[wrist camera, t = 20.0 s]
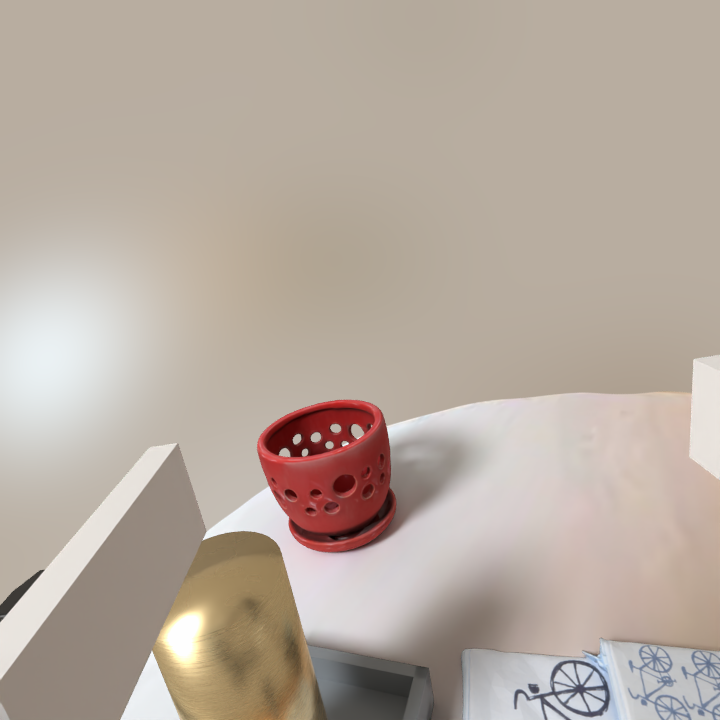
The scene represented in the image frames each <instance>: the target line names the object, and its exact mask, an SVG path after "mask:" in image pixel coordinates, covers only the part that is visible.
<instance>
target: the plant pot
mask: <svg viewBox="0 0 720 720" xmlns="http://www.w3.org/2000/svg"><path fill="white" fill-rule="evenodd" d="M332 424H339V425H340V426H341V431H340V432H339V433H334V432H332V431H331V429H330V426H331V425H332ZM353 424H358V425H359V426H360V427H361V428H362V430H363V431H364V435H363V436H362V437H360V438H359V439H356V438H355V437H354V436H353V435H352V433H351V426H352V425H353ZM371 425H373V426H372V427H371ZM315 432H319V433H320V434H321V440H320V441H318V442H316V443H315V442H312V441H311V435H312V434H313V433H315ZM296 434H301V441H300V443H298V444H296V445H295V444H294V443H293V437H294V436H295V435H296ZM328 441H331V442H333V444H334V447H333V448H332V449H327V448H326V446H325V444H326V442H328ZM343 441H347V442H348V443H349V444H348V445H346V446H344V447H343V446H342V444H341V443H342V442H343ZM283 448H287V449H288V450H289V451H290V457H283V456H279V452H280V450H281V449H283ZM303 449H308V455H307V456H305V457H303V456H302V450H303ZM257 451H258V455H259V459H260V462H261V465H262V468H263V471H264V473H265V476H266V478H267V481H268V484H269V486H270V488H271V491H272V493H273V494H274V496H275V498H276V500H277V502H278V503H279V505H280V506H281V508H282V509H283V511H284V512H285V513H286V514H287V515H288V516H289V528H290V531H291V533H292V535H293V536H294V538H295V539H296V540H297V541H298V542H299V543H301V544H302V545H304V546H306V547H307V548H310V549H313V550H316V551H322V552H339V551H346V550H350V549H353V548H357V547H359V546H362V545H364V544H366V543H368V542H370V541H371V540H373V539H374V538H376V537H377V536H378V535H380V534H381V533H382V532H383V531H384V530H385V529H386V527H387V526H388V525H389V523H390V522H391V520H392V518H393V516H394V514H395V510H396V498H395V495H394V493H393V491H392V490H391V489H390V488H389V484H390V477H391V463H390V446H389V438H388V432H387V427H386V423H385V420H384V417H383V414H382V412H381V410H380V409H379V408H378V407H377V406H375V405H373V404H371V403H368V402H364V401H359V400H335V401H329V402H323V403H318V404H315V405H311V406H308V407H305V408H302V409H299V410H297V411H294V412H292V413H290V414H287V415H285V416H284V417H282V418H280V419H279V420H277V421H276V422H274V423H273V424H271V425H270V426H269V427H268V428H267V429H266V430H265V431H264V432H263V433H262V434H261V436H260V438H259V440H258V444H257Z"/></svg>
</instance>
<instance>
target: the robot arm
mask: <svg viewBox="0 0 720 720" xmlns="http://www.w3.org/2000/svg"><path fill="white" fill-rule="evenodd" d="M689 457H690V458H691V459H693V460H694V461H695V462H697V463H698V464H699V465H700V466H702V467H703V468H704V469H706V470H707V471H708V472H710V473H711V474H712V475H714V476H715V477H716V478H718V479H719V480H720V355H716V356H710V357H703V358H697V359H694V361H693V384H692V406H691V429H690V452H689ZM205 533H206V528H205V525H204V522H203V519H202V516H201V513H200V510H199V507H198V503H197V500H196V497H195V494H194V491H193V488H192V485H191V482H190V479H189V476H188V472H187V470H186V466H185V463H184V460H183V457H182V454H181V451H180V448H179V445H178V443H175V444H168V445H162V446H156V447H150V448H149V449H148V450H147V451H146V452H145V453H144V454H143V456H142V457H141V458H140V459H139V460H138V461H137V463H136V464H135V465H134V466H133V467H132V468H131V470H130V471H129V472H128V473H127V475H126V476H125V477H124V478H123V479H122V480H121V481H120V483H119V484H118V485H117V486H116V487H115V488H114V490H113V491H112V492H111V493H110V494H109V495H108V497H107V498H106V499H105V500H104V501H103V503H102V504H101V505H100V506H99V507H98V508H97V510H96V511H95V512H94V513H93V514H92V515H91V517H90V518H89V519H88V520H87V521H86V522H85V524H84V525H83V526H82V527H81V528H80V529H79V531H78V532H77V533H76V534H75V535H74V537H73V538H72V539H71V540H70V541H69V542H68V544H67V545H66V546H65V547H64V548H63V550H62V551H61V552H60V553H59V554H58V555H57V557H56V558H55V559H54V560H53V561H52V562H51V564H50V565H49V566H48V567H47V568H46V569H45V570H40V571H39V572H37V573H36V574H35V575H34V576H32V577H31V578H30V579H28V580H27V581H26V582H25V583H24V584H22V585H21V586H19V587H18V588H17V589H15V590H14V591H13V592H12V593H11V594H10V595H9V596H8V597H7V599H6V600H5V601H4V602H3V603H2V604H1V605H0V720H120V719H121V717H122V714H123V712H124V710H125V708H126V706H127V703H128V701H129V699H130V697H131V695H132V693H133V690H134V688H135V686H136V684H137V682H138V679H139V677H140V675H141V673H142V671H143V669H144V666H145V664H146V662H147V660H148V658H149V655H150V653H151V651H152V649H153V647H154V645H155V642H156V640H157V638H158V636H159V634H160V631H161V629H162V627H163V625H164V623H165V621H166V618H167V616H168V614H169V612H170V610H171V607H172V605H173V603H174V601H175V599H176V597H177V594H178V592H179V590H180V588H181V586H182V584H183V581H184V579H185V577H186V575H187V573H188V570H189V568H190V566H191V564H192V562H193V560H194V557H195V555H196V553H197V551H198V549H199V546H200V544H201V542H202V540H203V538H204V536H205Z"/></svg>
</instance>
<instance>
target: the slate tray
mask: <svg viewBox="0 0 720 720" xmlns="http://www.w3.org/2000/svg"><path fill="white" fill-rule="evenodd" d="M307 647H308V650H309V654H310V657H311V661H312V664H313V668H314V672H315V675H316V679H317V682H318V686H319V690H320V693H321V697H322V700H323V704H324V707H325V711H326V715H327V718H328V720H431V715H432V710H433V705H434V698H433V692H432V686H431V680H430V674H429V668H426V667H421V666H416V665H410V664H405V663H400V662H395V661H389V660H384V659H379V658H374V657H368V656H363V655H358V654H353V653H347V652H342V651H337V650H331V649H326V648H321V647H316V646H310V645H307Z"/></svg>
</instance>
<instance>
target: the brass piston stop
mask: <svg viewBox="0 0 720 720" xmlns="http://www.w3.org/2000/svg"><path fill="white" fill-rule="evenodd" d="M152 651H153V653H154V656H155V658H156V661H157V663H158V666H159V668H160V671H161V673H162V675H163V678H164V680H165V683H166V685H167V688H168V690H169V693H170V695H171V698H172V700H173V702H174V705H175V707H176V710H177V712H178V715H179V717H180V720H328V718H327V715H326V711H325V707H324V704H323V700H322V697H321V693H320V690H319V686H318V682H317V679H316V675H315V672H314V668H313V664H312V661H311V657H310V654H309V650H308V647H307V643H306V639H305V636H304V632H303V629H302V625H301V621H300V618H299V614H298V611H297V607H296V604H295V600H294V596H293V593H292V589H291V586H290V582H289V579H288V575H287V571H286V568H285V564H284V561H283V557H282V553H281V551H280V548H279V546H278V545H277V543H276V542H275V541H274V540H272V539H271V538H270V537H268V536H266V535H263V534H260V533H256V532H247V531H241V532H231V533H225V534H221V535H217V536H214V537H211V538H208V539H206V540H203V541H202V542H201V544H200V546H199V549H198V551H197V553H196V555H195V557H194V560H193V562H192V564H191V566H190V568H189V570H188V573H187V575H186V577H185V579H184V581H183V584H182V586H181V588H180V590H179V592H178V594H177V597H176V599H175V601H174V603H173V605H172V607H171V610H170V612H169V614H168V616H167V618H166V621H165V623H164V625H163V627H162V629H161V631H160V634H159V636H158V638H157V640H156V642H155V645H154V647H153V649H152Z"/></svg>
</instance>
